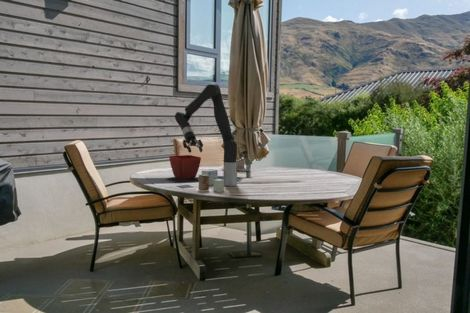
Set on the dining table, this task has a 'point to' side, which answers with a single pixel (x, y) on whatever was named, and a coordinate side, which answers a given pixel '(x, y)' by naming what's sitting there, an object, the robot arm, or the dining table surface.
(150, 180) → the dining table surface
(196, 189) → the lettered tile
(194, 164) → the plant pot
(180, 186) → the slate coaster
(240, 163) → the cookie jar
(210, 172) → the light bulb box
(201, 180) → the walnut block
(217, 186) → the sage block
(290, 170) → the dining table surface
